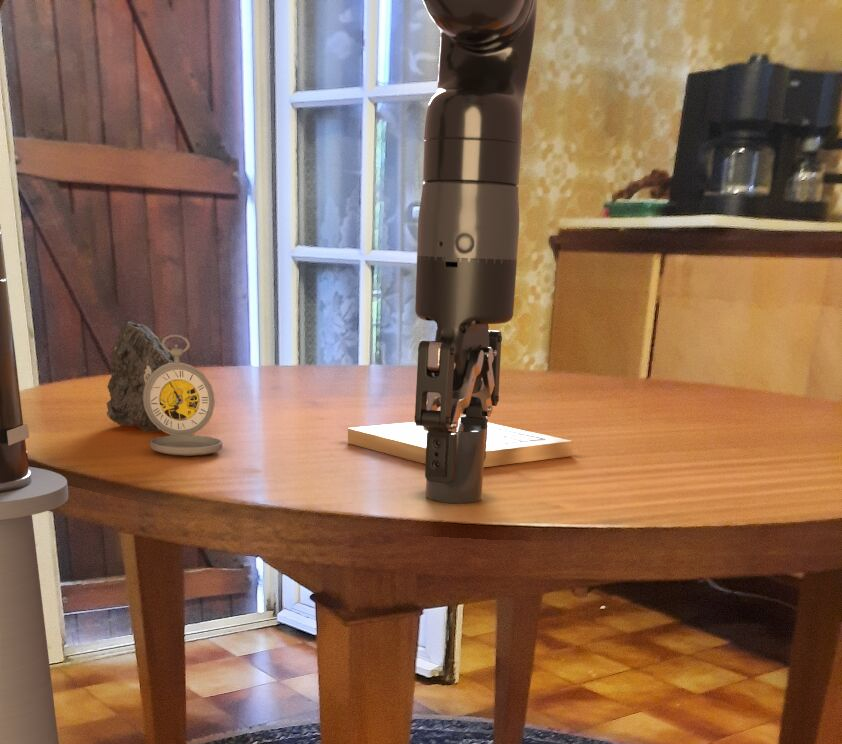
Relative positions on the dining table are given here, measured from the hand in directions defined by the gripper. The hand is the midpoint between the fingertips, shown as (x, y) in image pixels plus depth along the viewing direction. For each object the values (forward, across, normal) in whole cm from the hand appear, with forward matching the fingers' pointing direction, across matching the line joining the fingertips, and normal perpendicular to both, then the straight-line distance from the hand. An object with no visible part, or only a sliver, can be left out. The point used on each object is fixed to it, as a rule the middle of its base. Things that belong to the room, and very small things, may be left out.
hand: (456, 471), depth 87 cm
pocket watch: (+2, -6, -29) cm, 30 cm away
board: (+2, -21, -6) cm, 22 cm away
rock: (+2, -16, -37) cm, 40 cm away
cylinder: (+2, 0, 0) cm, 2 cm away
